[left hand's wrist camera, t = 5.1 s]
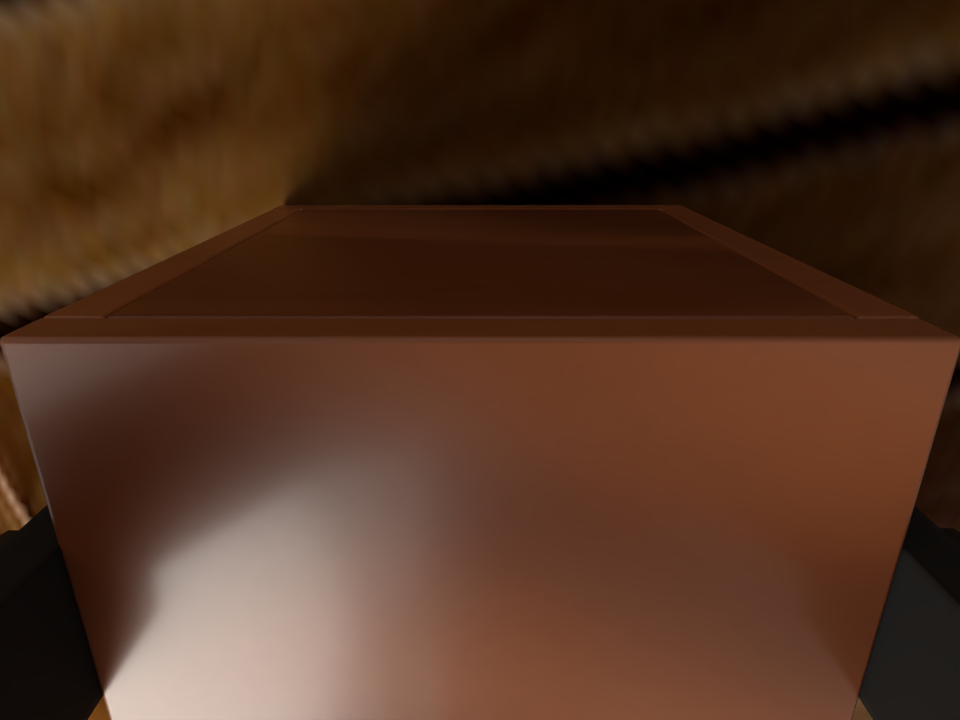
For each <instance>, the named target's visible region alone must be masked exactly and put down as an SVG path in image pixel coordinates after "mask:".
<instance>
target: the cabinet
mask: <svg viewBox="0 0 960 720" xmlns="http://www.w3.org/2000/svg"><path fill="white" fill-rule="evenodd" d="M0 345H1V348H2V352H3V355H4V358H5V362H6V365H7V369H8V372H9V376H10V379H11V382H12V386H13V389H14V393H15V396H16V399H17V403H18V406H19V410H20V413H21V417H22V420H23V423H24V427H25V430H26V434H27V437H28V441H29V444H30V447H31V451H32V454H33V458H34V461H35V465H36V468H37V471H38V475H39V478H40V482H41V485H42V488H43V492H44V495H45V499H46V502H47V506H48V509H49V512H50V516H51V519H52V523H53V526H54V530H55V533H56V536H57V540H58V543H59V547H60V550H61V554H62V557H63V560H64V564H65V567H66V571H67V574H68V577H69V581H70V584H71V588H72V591H73V595H74V598H75V601H76V605H77V608H78V612H79V615H80V619H81V622H82V625H83V629H84V632H85V636H86V639H87V643H88V646H89V649H90V653H91V656H92V660H93V663H94V666H95V670H96V673H97V677H98V680H99V684H100V687H101V690H102V694H103V697H104V701H105V704H106V708H107V711H108V714H109V718H110V720H852V717H853V714H854V710H855V707H856V703H857V700H858V697H859V693H860V690H861V686H862V683H863V679H864V676H865V673H866V669H867V666H868V662H869V659H870V656H871V652H872V649H873V645H874V642H875V638H876V635H877V632H878V628H879V625H880V621H881V618H882V615H883V611H884V608H885V604H886V601H887V597H888V594H889V591H890V587H891V584H892V580H893V577H894V574H895V570H896V567H897V563H898V560H899V557H900V553H901V550H902V546H903V543H904V539H905V536H906V533H907V529H908V526H909V522H910V519H911V516H912V512H913V509H914V505H915V502H916V498H917V495H918V492H919V488H920V485H921V481H922V478H923V475H924V471H925V468H926V464H927V461H928V457H929V454H930V451H931V447H932V444H933V440H934V437H935V434H936V430H937V427H938V423H939V420H940V417H941V413H942V410H943V406H944V403H945V399H946V396H947V393H948V389H949V386H950V382H951V379H952V376H953V372H954V369H955V365H956V362H957V358H958V355H959V352H960V337H958V336H956V335H954V334H952V333H949V332H947V331H945V330H943V329H941V328H939V327H937V326H935V325H932V324H930V323H928V322H926V321H924V320H922V319H919V318H918V316H916V315H914V314H911V313H909V312H907V311H905V310H903V309H901V308H899V307H897V306H894V305H892V304H890V303H888V302H886V301H884V300H882V299H879V298H877V297H875V296H873V295H871V294H869V293H867V292H865V291H862V290H860V289H858V288H856V287H854V286H852V285H850V284H847V283H845V282H843V281H841V280H839V279H837V278H835V277H833V276H830V275H828V274H826V273H824V272H822V271H820V270H818V269H815V268H813V267H811V266H809V265H807V264H805V263H803V262H801V261H798V260H796V259H794V258H792V257H790V256H788V255H786V254H783V253H781V252H779V251H777V250H775V249H773V248H771V247H769V246H766V245H764V244H762V243H760V242H758V241H756V240H754V239H751V238H749V237H747V236H745V235H743V234H741V233H739V232H737V231H734V230H732V229H730V228H728V227H726V226H724V225H722V224H720V223H717V222H715V221H713V220H711V219H709V218H707V217H705V216H702V215H700V214H698V213H696V212H694V211H692V210H690V209H688V208H685V207H683V206H681V205H281V206H279V207H277V208H275V209H273V210H271V211H269V212H267V213H265V214H262V215H260V216H258V217H256V218H254V219H252V220H250V221H248V222H245V223H243V224H241V225H239V226H237V227H235V228H233V229H230V230H228V231H226V232H224V233H222V234H220V235H218V236H215V237H213V238H211V239H209V240H207V241H205V242H203V243H200V244H198V245H196V246H194V247H192V248H190V249H188V250H186V251H183V252H181V253H179V254H177V255H175V256H173V257H171V258H168V259H166V260H164V261H162V262H160V263H158V264H156V265H153V266H151V267H149V268H147V269H145V270H143V271H141V272H139V273H136V274H134V275H132V276H130V277H128V278H126V279H124V280H121V281H119V282H117V283H115V284H113V285H111V286H109V287H106V288H104V289H102V290H100V291H98V292H96V293H94V294H91V295H89V296H87V297H85V298H83V299H81V300H79V301H77V302H74V303H72V304H70V305H68V306H66V307H64V308H62V309H59V310H57V311H55V312H53V313H51V314H49V315H47V316H45V318H41V319H39V320H37V321H35V322H33V323H31V324H28V325H26V326H24V327H22V328H20V329H18V330H16V331H13V332H11V333H9V334H7V335H5V336H3V337H2V338H1V340H0Z"/></svg>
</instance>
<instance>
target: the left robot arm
mask: <svg viewBox="0 0 960 720" xmlns="http://www.w3.org/2000/svg"><path fill="white" fill-rule="evenodd" d="M102 696H103V694H102V690H101V687H100V684H99V680H98V677H97V673H96V670H95V666H94V663H93V660H92V656H91V653H90V649H89V646H88V643H87V639H86V636H85V632H84V629H83V625H82V622H81V619H80V615H79V612H78V608H77V605H76V601H75V598H74V595H73V591H72V588H71V584H70V581H69V577H68V574H67V571H66V567H65V564H64V560H63V557H62V554H61V550H60V547H59V543H58V540H57V536H56V533H55V530H54V526H53V523H52V519H51V516H50V512H49V509H48V506H46V507H44V508H43V509H42V510H41V511H40V512H39V513H38V514H37V515H36V516H35V517H33V518H32V519H31V520H30V521H29V522H28V523H27V524H26V525H25V526H23V527H22V528H21V529H20V530H9V531H7V532H5V533H3V534H1V535H0V720H87V719H88V718H89V716H90V715H91V713H92V712H93V710H94V709H95V707H96V706H97V704H98V702H99V701H100V699H101V698H102ZM859 698H860V700H861V701H862V703H863V704H864V706H865V708H866V709H867V711H868V712H869V714H870V715H871V717H872V718H873V720H960V532H959V531H957V530H955V529H953V528H938V527H937V526H936V525H935V524H934V523H933V522H932V521H931V520H930V519H928V518H927V517H926V516H925V515H924V514H923V513H922V512H921V511H920V510H919V509H917V508H916V507H915V506H914V509H913V512H912V516H911V519H910V522H909V526H908V529H907V533H906V536H905V539H904V543H903V546H902V550H901V553H900V557H899V560H898V563H897V567H896V570H895V574H894V577H893V580H892V584H891V587H890V591H889V594H888V597H887V601H886V604H885V608H884V611H883V615H882V618H881V621H880V625H879V628H878V632H877V635H876V638H875V642H874V645H873V649H872V652H871V656H870V659H869V662H868V666H867V669H866V673H865V676H864V679H863V683H862V686H861V690H860V693H859Z"/></svg>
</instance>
